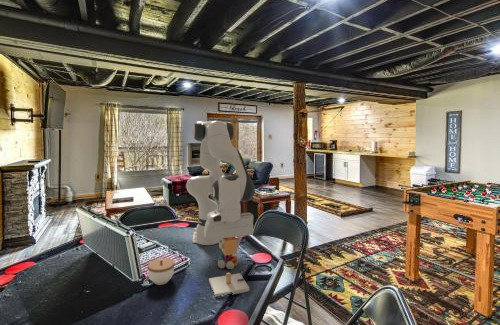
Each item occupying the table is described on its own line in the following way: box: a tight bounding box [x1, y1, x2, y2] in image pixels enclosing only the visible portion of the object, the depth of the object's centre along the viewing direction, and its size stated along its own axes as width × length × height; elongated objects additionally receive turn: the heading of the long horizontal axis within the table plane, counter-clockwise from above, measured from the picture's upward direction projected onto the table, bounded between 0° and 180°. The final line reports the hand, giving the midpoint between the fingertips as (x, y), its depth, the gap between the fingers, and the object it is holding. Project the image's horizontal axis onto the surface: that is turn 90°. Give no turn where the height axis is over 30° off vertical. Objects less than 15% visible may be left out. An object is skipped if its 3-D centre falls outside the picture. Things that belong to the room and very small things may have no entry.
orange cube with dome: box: [221, 237, 238, 256], centre depth 109 cm, size 5×5×7 cm
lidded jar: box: [147, 257, 175, 286], centre depth 113 cm, size 11×11×9 cm
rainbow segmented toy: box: [217, 252, 238, 270], centre depth 128 cm, size 8×10×7 cm
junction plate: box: [208, 272, 250, 298], centre depth 111 cm, size 12×14×6 cm
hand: (229, 247), depth 109 cm, fingers closed on orange cube with dome, 5 cm apart
